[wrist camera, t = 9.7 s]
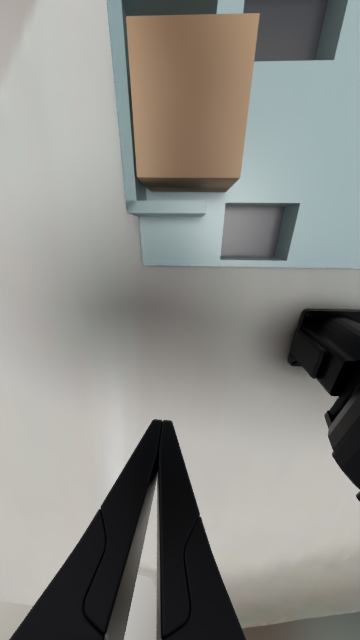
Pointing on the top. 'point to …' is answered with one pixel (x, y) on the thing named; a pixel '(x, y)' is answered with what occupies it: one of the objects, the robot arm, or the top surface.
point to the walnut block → (190, 98)
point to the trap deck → (264, 145)
